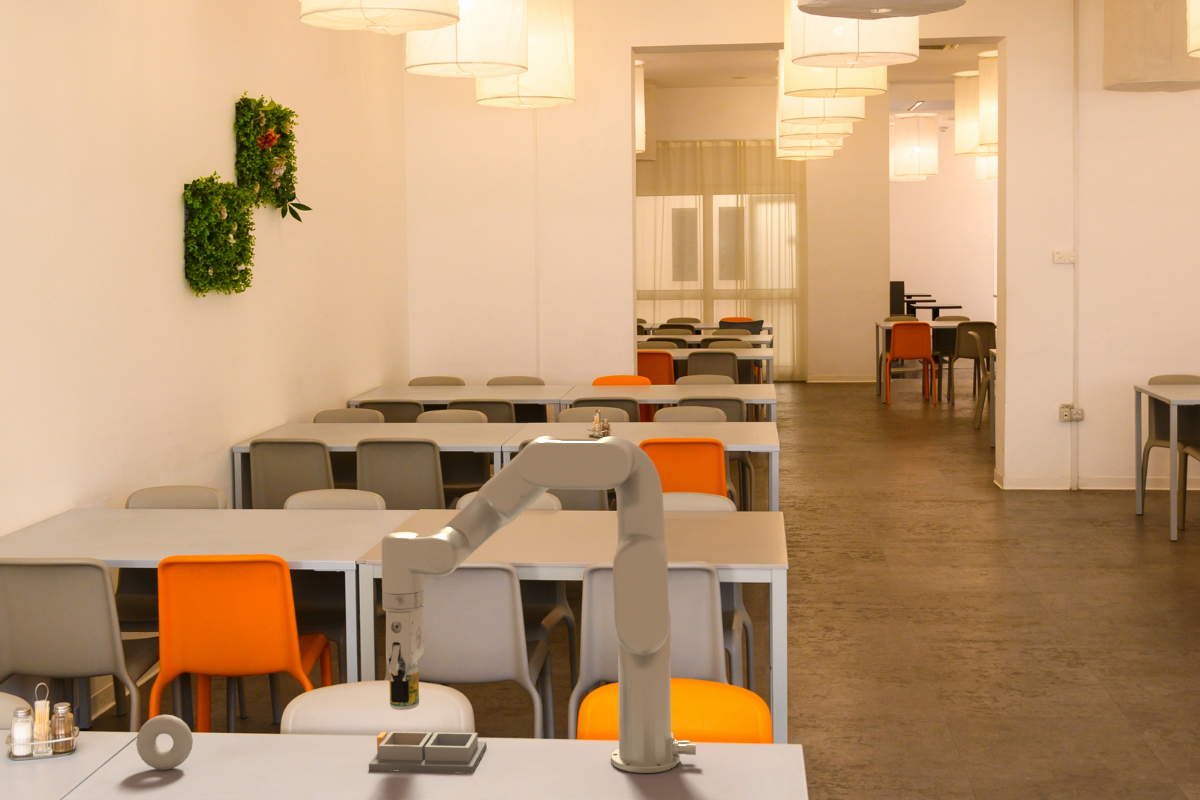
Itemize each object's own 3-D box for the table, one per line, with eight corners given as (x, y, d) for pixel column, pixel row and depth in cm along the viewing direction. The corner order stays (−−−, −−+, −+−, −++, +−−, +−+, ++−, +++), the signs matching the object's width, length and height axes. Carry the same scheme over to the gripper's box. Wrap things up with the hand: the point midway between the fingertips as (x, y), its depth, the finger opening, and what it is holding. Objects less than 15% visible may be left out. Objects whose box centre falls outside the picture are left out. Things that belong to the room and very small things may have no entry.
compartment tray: (486, 747, 224) (486, 725, 223) (472, 772, 211) (472, 748, 210) (388, 745, 225) (388, 723, 225) (368, 770, 212) (368, 746, 212)
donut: (196, 765, 216) (194, 711, 216) (190, 771, 213) (188, 717, 213) (141, 766, 216) (139, 712, 216) (134, 773, 213) (132, 718, 212)
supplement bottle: (411, 700, 222) (411, 649, 221) (423, 707, 217) (423, 655, 217) (385, 705, 219) (384, 653, 218) (396, 712, 214) (396, 660, 214)
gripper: (411, 610, 208) (412, 712, 209) (434, 590, 225) (435, 684, 226) (369, 610, 209) (371, 711, 210) (395, 589, 226) (397, 683, 227)
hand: (404, 695), depth 218 cm, fingers closed on supplement bottle, 5 cm apart
